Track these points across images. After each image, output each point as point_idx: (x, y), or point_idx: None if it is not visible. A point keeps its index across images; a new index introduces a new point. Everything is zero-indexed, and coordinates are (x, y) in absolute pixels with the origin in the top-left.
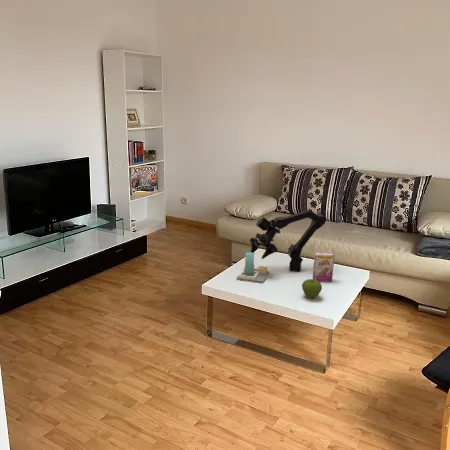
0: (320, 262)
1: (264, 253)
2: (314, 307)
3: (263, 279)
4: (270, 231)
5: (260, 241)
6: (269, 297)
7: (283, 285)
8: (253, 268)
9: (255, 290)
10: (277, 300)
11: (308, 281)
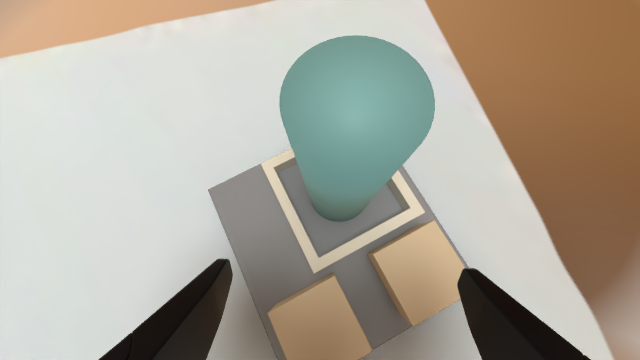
0: None
1: (155, 331)
2: None
3: (226, 217)
4: None
5: None
6: (86, 81)
7: (93, 265)
8: (313, 200)
9: (190, 91)
10: (37, 84)
11: None
